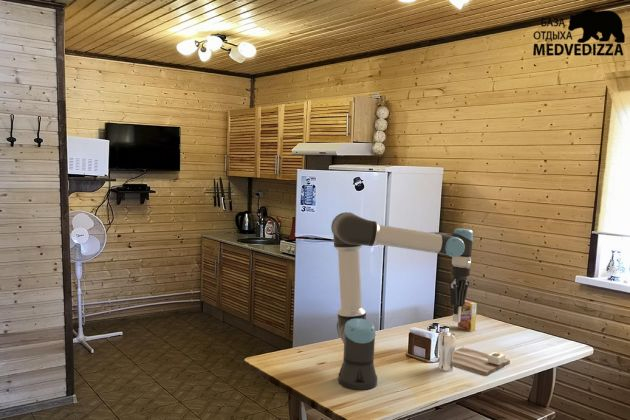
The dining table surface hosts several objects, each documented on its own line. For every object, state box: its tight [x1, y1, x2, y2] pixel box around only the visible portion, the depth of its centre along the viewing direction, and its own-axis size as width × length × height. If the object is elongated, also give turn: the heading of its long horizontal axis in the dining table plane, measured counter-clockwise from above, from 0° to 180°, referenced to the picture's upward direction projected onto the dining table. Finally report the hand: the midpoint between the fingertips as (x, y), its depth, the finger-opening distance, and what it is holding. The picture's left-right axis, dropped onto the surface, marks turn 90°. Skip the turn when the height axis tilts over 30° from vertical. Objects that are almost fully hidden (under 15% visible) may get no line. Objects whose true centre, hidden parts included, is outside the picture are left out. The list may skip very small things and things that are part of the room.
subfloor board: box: [437, 346, 511, 377], centre depth 232 cm, size 22×22×2 cm
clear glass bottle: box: [437, 331, 457, 372], centre depth 223 cm, size 7×7×15 cm
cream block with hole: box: [487, 351, 506, 365], centre depth 228 cm, size 6×5×3 cm
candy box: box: [457, 299, 478, 333], centre depth 282 cm, size 9×4×15 cm, turn 36°
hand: (456, 321), depth 222 cm, fingers closed
